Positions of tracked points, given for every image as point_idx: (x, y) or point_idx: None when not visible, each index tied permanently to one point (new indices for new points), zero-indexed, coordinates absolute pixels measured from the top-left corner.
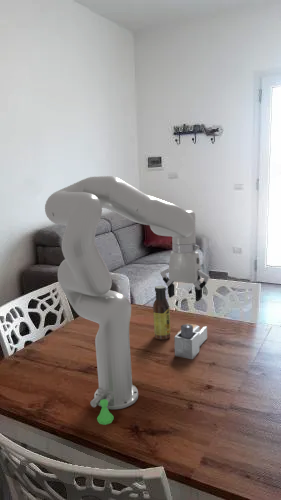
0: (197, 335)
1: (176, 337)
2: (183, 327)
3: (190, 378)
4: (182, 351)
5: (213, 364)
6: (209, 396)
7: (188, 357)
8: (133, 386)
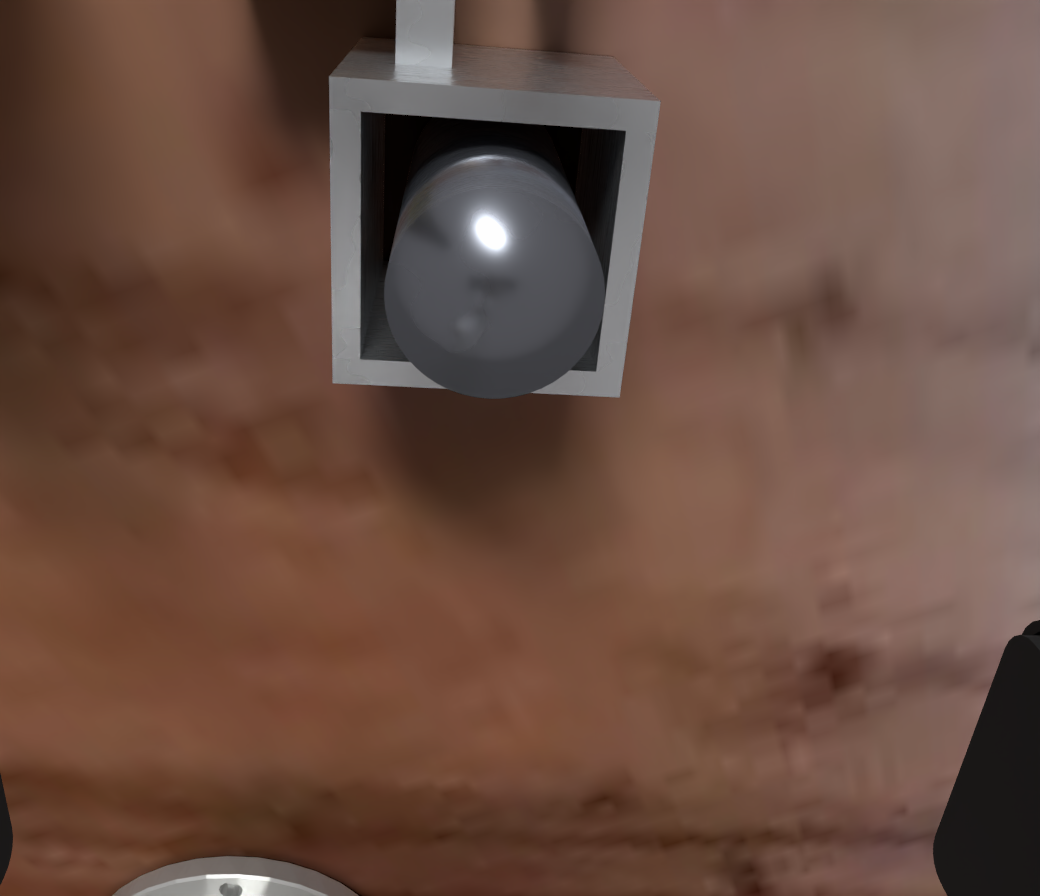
0: (646, 169)
1: (368, 380)
2: (451, 355)
3: (665, 618)
4: None
5: (834, 322)
6: (857, 765)
7: None
8: (301, 894)
